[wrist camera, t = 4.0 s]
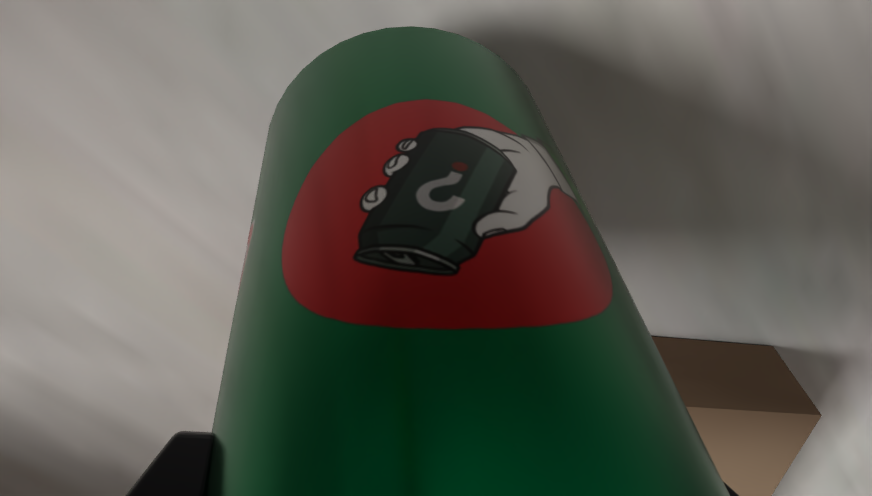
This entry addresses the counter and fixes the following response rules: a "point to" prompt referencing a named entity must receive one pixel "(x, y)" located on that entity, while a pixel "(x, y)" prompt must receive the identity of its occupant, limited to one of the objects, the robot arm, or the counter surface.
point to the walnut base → (741, 408)
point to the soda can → (436, 300)
